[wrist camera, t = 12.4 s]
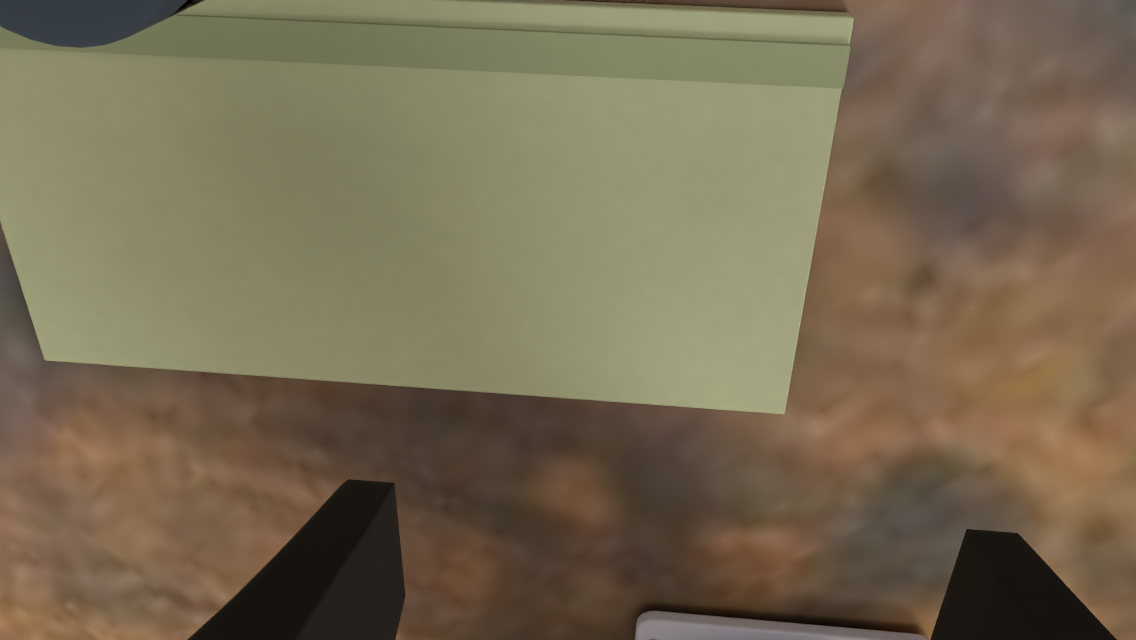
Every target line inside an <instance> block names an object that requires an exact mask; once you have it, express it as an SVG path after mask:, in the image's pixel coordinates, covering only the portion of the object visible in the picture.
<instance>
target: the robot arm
mask: <svg viewBox="0 0 1136 640" xmlns="http://www.w3.org/2000/svg"><path fill="white" fill-rule="evenodd" d="M404 599H405V588H404V577H403V567H402V557H401V546H400V536H399V526H398V515H397V505H396V494H395V484H394V483H387V482H374V481H362V480H349V479H348V480H347V481H346V482H345V483H343V484H342V485H341V486H340V487H339V488H338V489H337V490H336V491H335V492H334V493H333V495H332V496H331V497H330V498H329V499H328V500H327V501H326V502H325V503H324V504H323V505H322V507H321V508H320V509H319V510H318V511H317V512H316V513H315V514H314V515H313V516H312V517H311V518H310V520H309V521H308V522H307V523H306V524H305V525H304V526H303V527H302V528H301V529H300V530H299V531H298V532H297V533H296V535H295V536H294V537H293V538H292V539H291V540H290V541H289V542H288V543H287V544H286V545H285V546H284V547H283V548H282V549H281V550H280V551H279V552H278V553H277V554H276V556H275V557H274V558H273V559H272V560H271V561H270V562H269V563H268V564H267V565H266V566H265V567H264V568H263V569H262V570H261V571H260V572H259V573H258V574H257V575H256V576H255V577H254V578H253V579H252V580H251V581H250V582H249V583H248V584H247V585H246V586H245V587H244V588H243V589H241V590H240V591H239V592H238V593H237V594H236V595H235V596H234V597H233V598H232V599H231V600H230V601H229V602H228V603H227V604H226V605H225V606H224V607H223V608H222V609H221V610H220V611H218V612H217V613H216V614H215V615H214V616H213V617H212V618H211V619H210V620H209V621H207V622H206V623H205V624H204V625H203V626H202V627H201V628H200V629H199V630H198V631H197V632H195V633H194V634H193V635H192V636H191V637H190V638H189V639H188V640H395V638H396V634H397V630H398V625H399V621H400V617H401V612H402V608H403V604H404ZM652 639H654V640H929V639H928V638H926V637H925V636H923V635H919V634H913V633H901V632H890V631H879V630H867V629H856V628H845V627H833V626H822V625H811V624H799V623H788V622H777V621H766V620H754V619H743V618H732V617H720V616H709V615H698V614H686V613H675V612H664V611H648V612H645V613H642V614H641V615H640V616H639V617H638V619H637V622H636V632H635V640H652ZM931 640H1117V639H1116V638H1115V637H1114V636H1113V635H1112V634H1111V633H1110V632H1109V631H1108V630H1107V629H1106V628H1105V627H1104V626H1103V625H1102V624H1101V623H1100V621H1099V620H1098V619H1097V618H1096V617H1095V616H1094V615H1093V614H1092V613H1091V612H1090V611H1089V610H1088V608H1087V607H1086V606H1085V605H1084V604H1083V603H1082V602H1081V601H1080V600H1079V599H1078V598H1077V597H1076V596H1075V594H1074V593H1073V592H1072V591H1071V590H1070V589H1069V588H1068V587H1067V586H1066V585H1065V584H1064V582H1063V581H1062V580H1061V579H1060V578H1059V577H1058V576H1057V575H1056V574H1055V573H1054V572H1053V570H1052V569H1051V568H1050V567H1049V566H1048V565H1047V564H1046V563H1045V562H1044V561H1043V560H1042V559H1041V557H1040V556H1039V555H1038V554H1037V553H1036V552H1035V551H1034V550H1033V549H1032V548H1031V547H1030V546H1029V545H1028V544H1027V542H1026V541H1025V540H1024V539H1023V538H1022V537H1021V536H1020V535H1019V534H1018V533H1009V532H996V531H984V530H971V529H967V530H966V533H965V536H964V539H963V542H962V545H961V548H960V551H959V554H958V557H957V560H956V563H955V566H954V569H953V573H952V576H951V579H950V582H949V585H948V588H947V591H946V594H945V597H944V600H943V603H942V606H941V609H940V612H939V615H938V618H937V621H936V624H935V628H934V631H933V634H932V637H931Z"/></svg>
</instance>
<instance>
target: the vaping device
mask: <svg viewBox="0 0 1136 640" xmlns="http://www.w3.org/2000/svg"><path fill="white" fill-rule="evenodd" d="M202 1H204V0H0V26H1V27H2V28H4V29H6V30H8V31H11V32H13V33H16V34H18V35H20V36H23V37H25V38H28V39H30V40H33V41H38V42H42V43H46V44H50V45H54V46H62V47H76V48H85V47H94V46H102V45H107V44H110V43H113V42H116V41H119V40H122V39H125V38H128V37H130V36H132V35H134V34H136V33H138V32H140V31H142V30H144V29H146V28H148V27H151V26H153V25H155V24H157V23H158V22H161V21H163V20H165V19H167V18H169V17H171V16H173V15H175V14H177V13H180V12H182V11H184V10H186V9H187V8H189V7H192V6H194V5H196V4H198V3H200V2H202ZM187 5H188V6H187ZM185 8H186V9H185ZM177 11H178V12H177Z"/></svg>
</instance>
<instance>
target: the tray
mask: <svg viewBox="0 0 1136 640" xmlns="http://www.w3.org/2000/svg"><path fill="white" fill-rule="evenodd" d="M187 6H188V5H187ZM185 9H186V8H185ZM177 12H178V11H177ZM853 22H854V17H853V16H852V14H851V13H849V12H825V11H802V10H779V9H755V8H732V7H709V6H685V5H662V4H639V3H615V2H592V1H568V0H204V1H202V2H200V3H198V4H196V5H194V6H192V7H189V8H187V9H186V10H184V11H182V12H180V13H177V14H175V15H173V16H171V17H169V18H167V19H165V20H163V21H161V22H158V23H157V24H155V25H153V26H151V27H148V28H146V29H144V30H142V31H140V32H138V33H136V34H134V35H132V36H130V37H128V38H125V39H122V40H119V41H116V42H113V43H110V44H107V45H102V46H94V47H85V48H76V47H62V46H54V45H50V44H46V43H42V42H38V41H33V40H30V39H28V38H25V37H23V36H20V35H18V34H16V33H13V32H11V31H8V30H6V29H4V28H2V27H1V26H0V222H1V225H2V229H3V232H4V235H5V238H6V241H7V244H8V247H9V250H10V254H11V257H12V260H13V263H14V266H15V269H16V272H17V275H18V278H19V282H20V285H21V288H22V291H23V294H24V297H25V300H26V303H27V307H28V310H29V313H30V316H31V319H32V322H33V325H34V328H35V332H36V335H37V338H38V341H39V344H40V347H41V350H42V353H43V356H44V359H45V360H48V361H62V362H75V363H89V364H103V365H117V366H130V367H144V368H158V369H172V370H185V371H199V372H213V373H226V374H240V375H254V376H268V377H281V378H295V379H309V380H322V381H336V382H350V383H364V384H377V385H391V386H405V387H418V388H432V389H446V390H460V391H473V392H487V393H501V394H514V395H528V396H542V397H556V398H569V399H583V400H597V401H610V402H624V403H638V404H652V405H665V406H679V407H693V408H706V409H720V410H734V411H748V412H761V413H775V414H784V413H785V408H786V403H787V397H788V391H789V386H790V380H791V374H792V369H793V363H794V357H795V352H796V346H797V340H798V335H799V329H800V323H801V318H802V312H803V306H804V301H805V295H806V289H807V284H808V278H809V272H810V267H811V261H812V255H813V250H814V244H815V238H816V232H817V227H818V221H819V215H820V210H821V204H822V198H823V193H824V187H825V181H826V176H827V170H828V164H829V159H830V153H831V147H832V142H833V136H834V130H835V125H836V119H837V113H838V108H839V102H840V96H841V91H842V89H843V88H844V82H845V77H846V71H847V65H848V60H849V54H850V48H851V46H850V39H851V34H852V28H853Z"/></svg>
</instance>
